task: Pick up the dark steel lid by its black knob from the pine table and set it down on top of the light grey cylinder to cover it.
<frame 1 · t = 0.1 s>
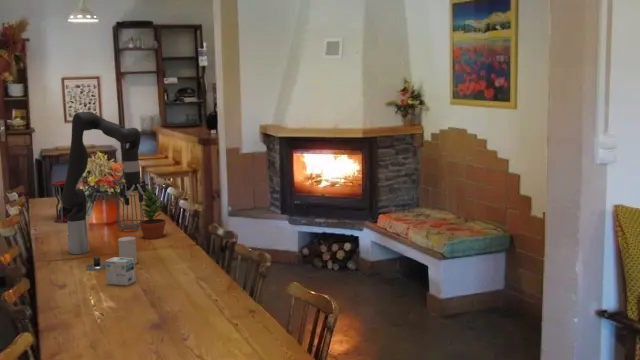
hand: (134, 203, 341), 29 cm above the table, fingers open, 8 cm apart
potted plant: (153, 237, 400), on the table
geometric lantern: (132, 230, 421), on the table
light bulb box: (121, 283, 313), on the table
hourglass: (68, 220, 456), on the table
lid: (97, 268, 340), on the table
light grey cylinder: (128, 263, 346), on the table
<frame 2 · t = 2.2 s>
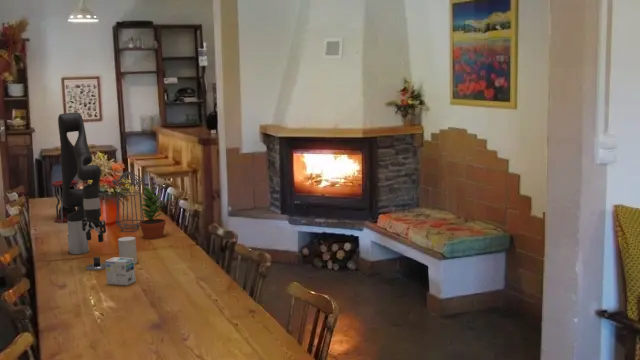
hand: (95, 241, 337), 13 cm above the table, fingers open, 8 cm apart
nothing on the table moved.
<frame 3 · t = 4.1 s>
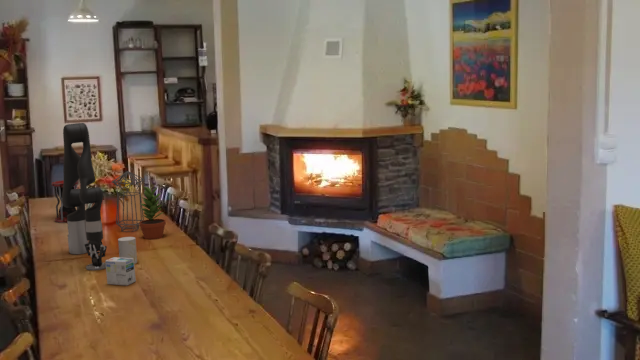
hand: (97, 265, 339), 1 cm above the table, fingers closed on lid, 3 cm apart
lid: (97, 267, 340), on the table, touching gripper
everything else where it was.
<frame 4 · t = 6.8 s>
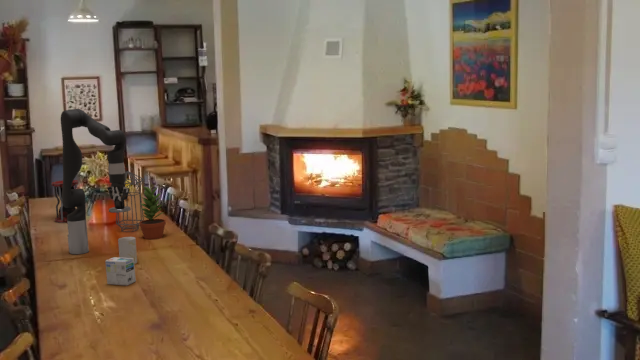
hand: (119, 208, 341), 27 cm above the table, fingers closed on lid, 3 cm apart
lid: (119, 210, 341), point 26 cm above the table, touching gripper
everything else where it was.
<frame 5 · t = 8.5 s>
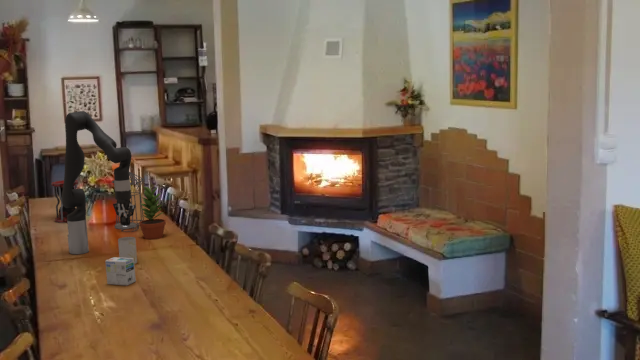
hand: (125, 224, 343), 19 cm above the table, fingers closed on lid, 3 cm apart
lid: (125, 226, 344), point 18 cm above the table, touching gripper
everything else where it was.
when the fingers open (15 cm above the table, at t = 9.7 s): lid drops 1 cm, resting on light grey cylinder.
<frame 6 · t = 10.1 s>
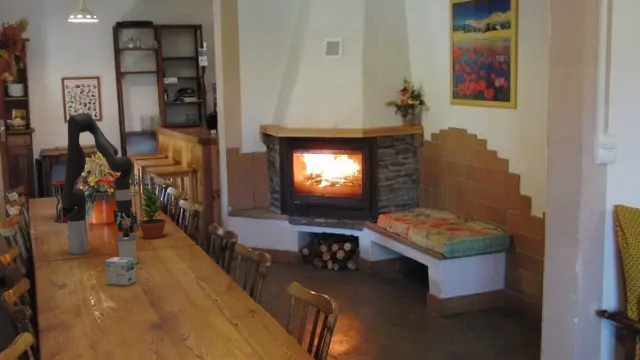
hand: (126, 231, 344), 15 cm above the table, fingers open, 7 cm apart
lid: (126, 238, 345), point 12 cm above the table, touching light grey cylinder
light grey cylinder: (128, 263, 346), on the table, touching lid
everything else where it was.
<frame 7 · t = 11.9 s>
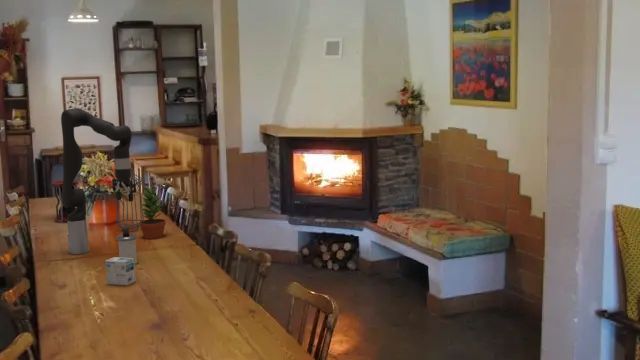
hand: (125, 200, 345), 30 cm above the table, fingers open, 8 cm apart
nothing on the table moved.
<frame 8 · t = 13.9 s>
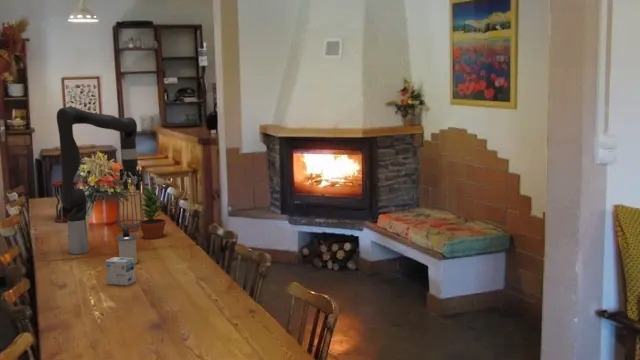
hand: (131, 189, 358), 33 cm above the table, fingers open, 8 cm apart
nothing on the table moved.
at the end: lid 0.2 cm from the light grey cylinder (horizontally); lid point 11.9 cm above the table; the gripper is holding nothing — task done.
